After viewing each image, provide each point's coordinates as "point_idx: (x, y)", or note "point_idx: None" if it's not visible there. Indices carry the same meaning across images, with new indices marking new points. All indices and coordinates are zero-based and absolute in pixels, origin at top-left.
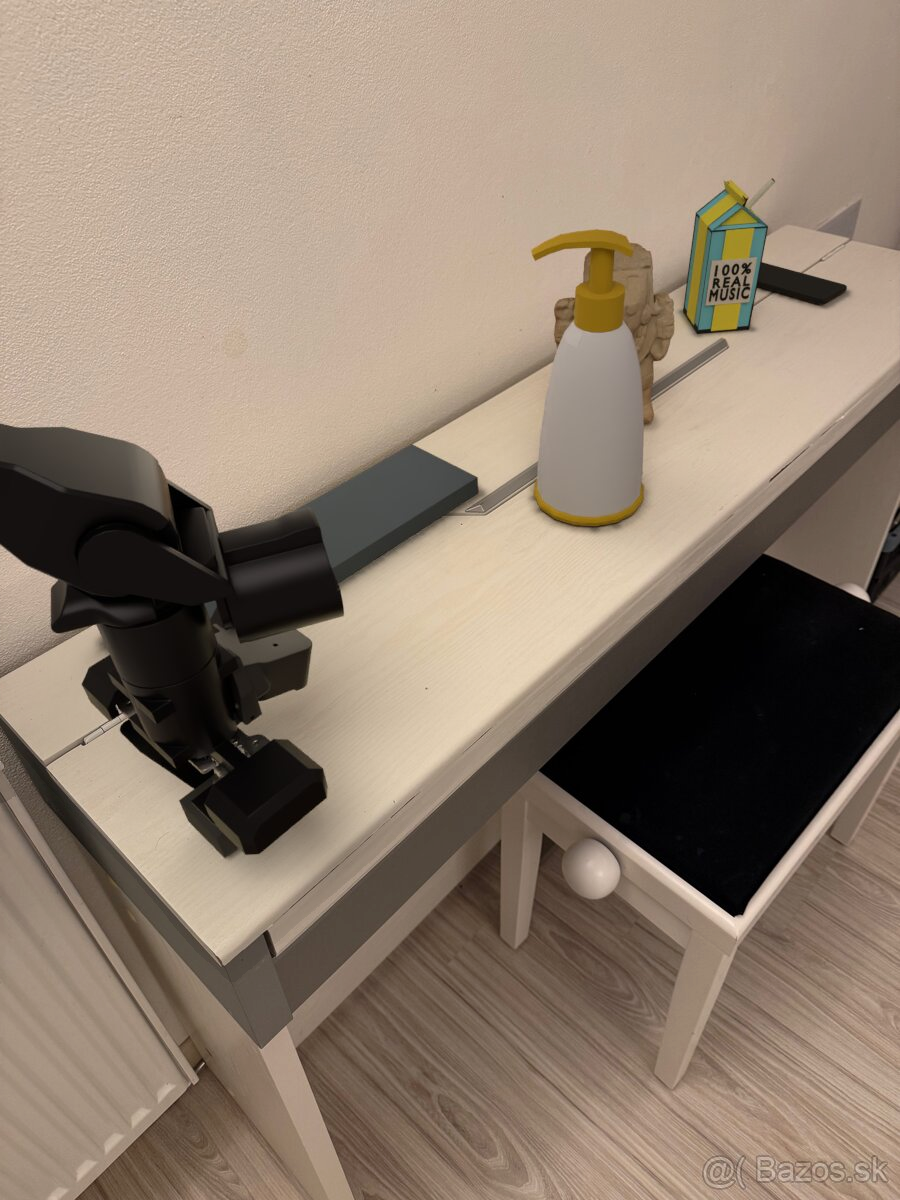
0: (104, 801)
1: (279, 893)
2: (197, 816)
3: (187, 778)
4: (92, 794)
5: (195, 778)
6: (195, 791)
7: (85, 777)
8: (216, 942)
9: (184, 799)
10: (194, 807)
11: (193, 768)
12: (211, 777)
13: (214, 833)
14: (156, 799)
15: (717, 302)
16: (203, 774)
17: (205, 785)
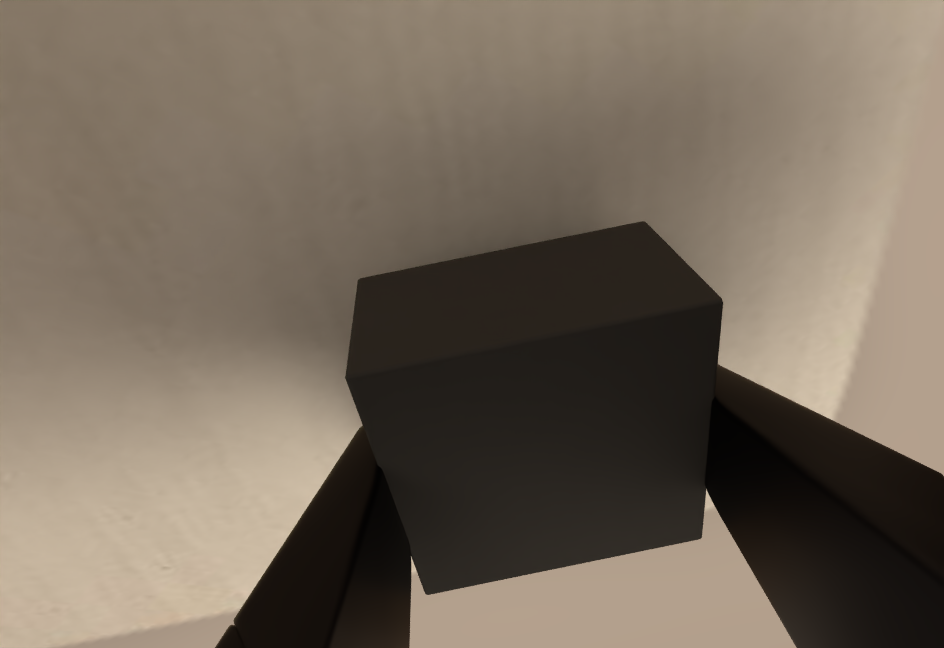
0: (164, 596)
1: (847, 321)
2: (555, 565)
3: (403, 636)
4: (118, 613)
5: (400, 583)
6: (423, 544)
7: (31, 619)
8: None
9: (437, 582)
10: (502, 563)
11: (385, 642)
12: (391, 481)
13: (680, 541)
14: (237, 498)
15: None
16: (390, 544)
17: (421, 511)
